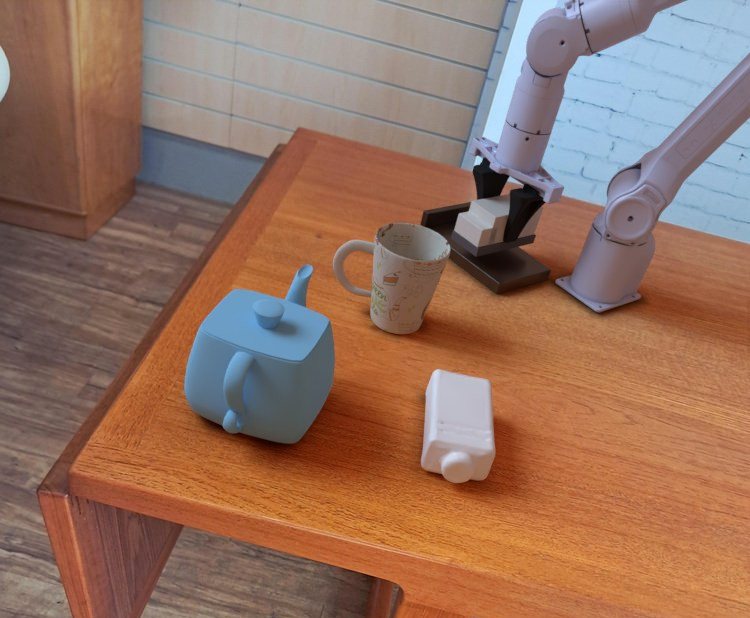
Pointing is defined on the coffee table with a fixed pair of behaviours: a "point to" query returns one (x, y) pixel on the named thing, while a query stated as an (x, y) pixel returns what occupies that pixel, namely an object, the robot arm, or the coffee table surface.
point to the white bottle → (458, 427)
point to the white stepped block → (490, 227)
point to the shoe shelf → (492, 268)
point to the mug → (398, 273)
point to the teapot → (262, 363)
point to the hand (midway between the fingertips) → (496, 231)
